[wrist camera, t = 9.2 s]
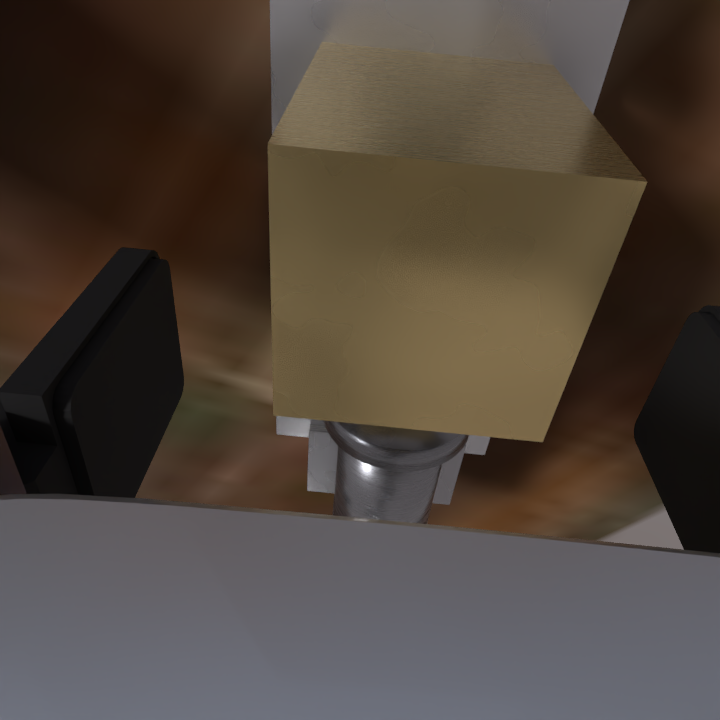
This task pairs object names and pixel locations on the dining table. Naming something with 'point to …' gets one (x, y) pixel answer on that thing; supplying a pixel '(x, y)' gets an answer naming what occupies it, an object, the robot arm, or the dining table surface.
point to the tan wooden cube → (438, 240)
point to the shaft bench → (444, 36)
